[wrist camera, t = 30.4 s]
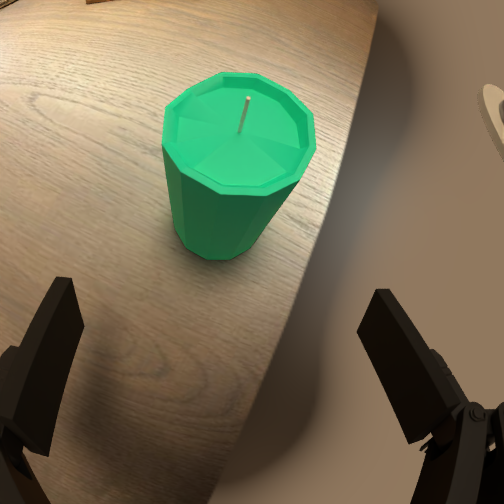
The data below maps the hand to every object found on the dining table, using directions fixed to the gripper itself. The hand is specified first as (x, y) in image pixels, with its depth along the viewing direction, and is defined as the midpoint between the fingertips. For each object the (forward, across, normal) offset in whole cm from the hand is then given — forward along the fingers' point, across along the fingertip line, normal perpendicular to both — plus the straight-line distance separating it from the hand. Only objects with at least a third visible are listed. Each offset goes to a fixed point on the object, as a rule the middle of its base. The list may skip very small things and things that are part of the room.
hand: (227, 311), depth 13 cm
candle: (+10, 0, 0) cm, 10 cm away
